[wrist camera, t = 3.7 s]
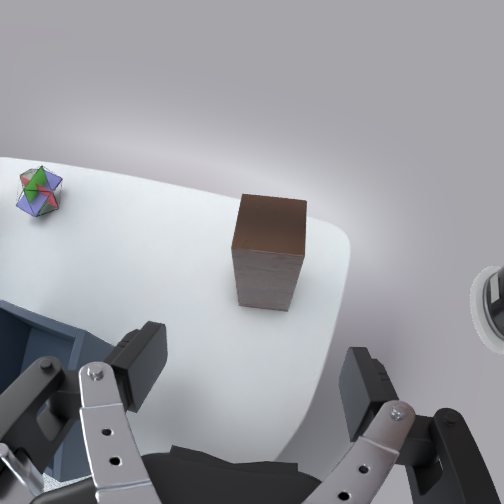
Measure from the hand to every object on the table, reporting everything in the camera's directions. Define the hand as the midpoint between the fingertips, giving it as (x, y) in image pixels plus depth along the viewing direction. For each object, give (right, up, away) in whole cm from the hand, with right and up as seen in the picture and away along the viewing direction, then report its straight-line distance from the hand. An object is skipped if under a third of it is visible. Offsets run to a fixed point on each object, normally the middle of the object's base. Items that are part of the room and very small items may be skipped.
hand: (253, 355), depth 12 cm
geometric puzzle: (-29, +11, +21) cm, 37 cm away
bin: (-19, -9, +9) cm, 23 cm away
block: (+1, +1, +15) cm, 15 cm away
